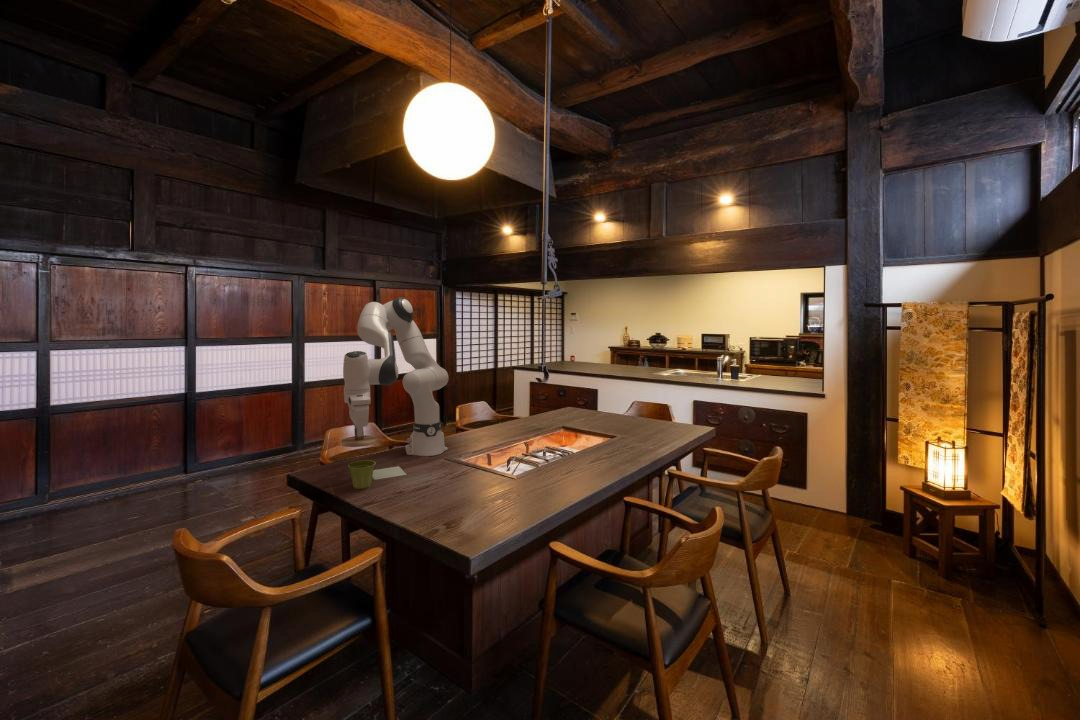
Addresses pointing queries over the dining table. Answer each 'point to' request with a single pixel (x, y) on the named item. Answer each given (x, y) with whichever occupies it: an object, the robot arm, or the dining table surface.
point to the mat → (387, 473)
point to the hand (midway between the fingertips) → (358, 434)
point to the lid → (358, 440)
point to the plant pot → (361, 473)
